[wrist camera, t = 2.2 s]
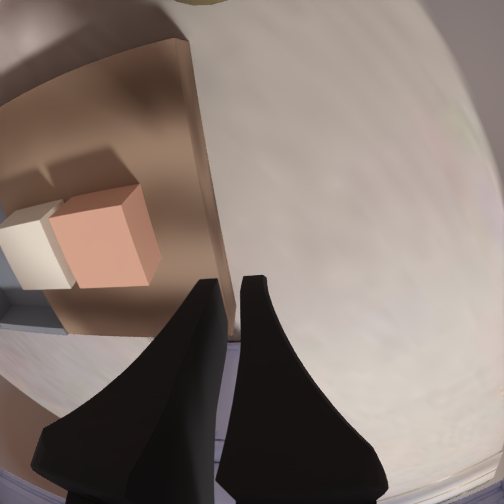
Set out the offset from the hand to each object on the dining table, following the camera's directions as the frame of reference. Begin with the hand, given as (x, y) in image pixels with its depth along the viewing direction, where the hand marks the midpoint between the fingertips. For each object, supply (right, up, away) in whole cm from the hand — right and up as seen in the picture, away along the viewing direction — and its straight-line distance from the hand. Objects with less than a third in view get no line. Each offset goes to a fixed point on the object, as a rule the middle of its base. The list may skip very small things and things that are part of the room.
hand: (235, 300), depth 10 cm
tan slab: (-9, +5, +9) cm, 13 cm away
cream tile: (-12, +3, +6) cm, 14 cm away
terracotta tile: (-7, +3, +6) cm, 10 cm away
